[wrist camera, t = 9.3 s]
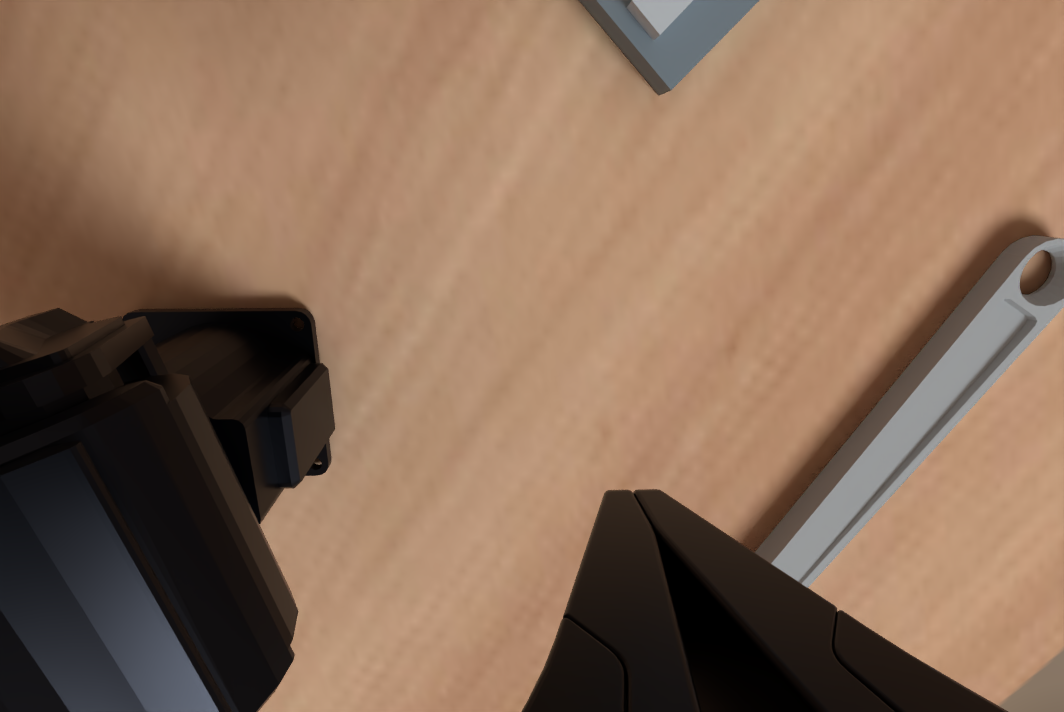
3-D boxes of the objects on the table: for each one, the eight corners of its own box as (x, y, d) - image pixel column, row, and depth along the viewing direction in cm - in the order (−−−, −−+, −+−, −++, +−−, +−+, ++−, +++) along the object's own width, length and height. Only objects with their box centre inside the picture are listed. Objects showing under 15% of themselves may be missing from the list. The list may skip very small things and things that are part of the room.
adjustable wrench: (1016, 216, 21) (1060, 221, 20) (1117, 314, 23) (1167, 326, 21) (598, 661, 27) (604, 694, 25) (700, 718, 29) (713, 753, 27)
